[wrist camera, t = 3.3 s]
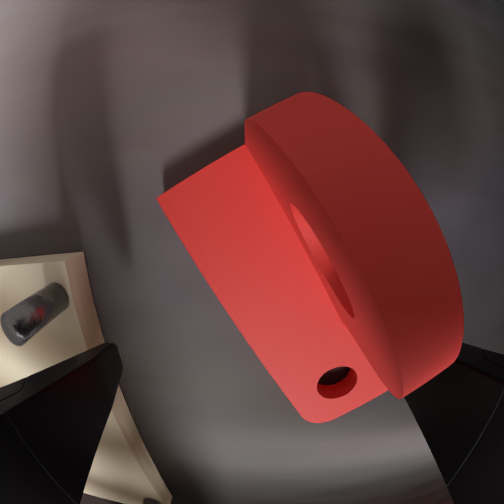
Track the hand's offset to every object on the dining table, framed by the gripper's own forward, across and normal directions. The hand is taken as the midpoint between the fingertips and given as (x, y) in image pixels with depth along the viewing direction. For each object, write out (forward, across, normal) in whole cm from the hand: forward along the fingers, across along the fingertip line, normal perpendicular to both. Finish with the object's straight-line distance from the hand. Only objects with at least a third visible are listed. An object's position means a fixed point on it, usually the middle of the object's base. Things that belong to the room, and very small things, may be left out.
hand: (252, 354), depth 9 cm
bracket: (+3, -2, 0) cm, 4 cm away
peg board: (+3, +16, +6) cm, 17 cm away
